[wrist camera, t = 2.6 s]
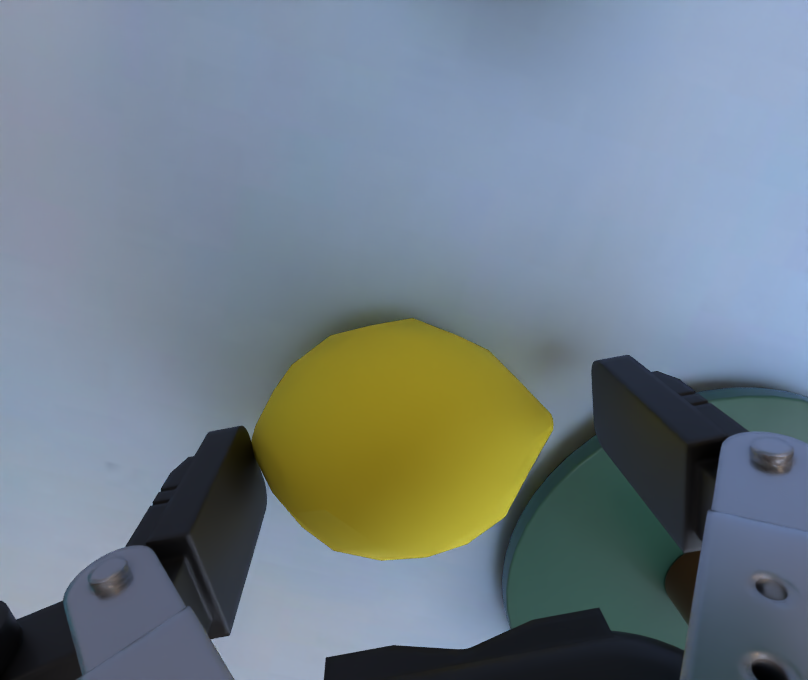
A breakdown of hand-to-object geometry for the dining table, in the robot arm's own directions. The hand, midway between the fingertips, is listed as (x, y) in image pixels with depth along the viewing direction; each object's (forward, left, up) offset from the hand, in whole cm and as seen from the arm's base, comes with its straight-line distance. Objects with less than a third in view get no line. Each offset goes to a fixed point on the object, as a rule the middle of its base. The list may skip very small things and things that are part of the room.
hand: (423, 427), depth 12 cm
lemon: (0, 0, -3) cm, 3 cm away
